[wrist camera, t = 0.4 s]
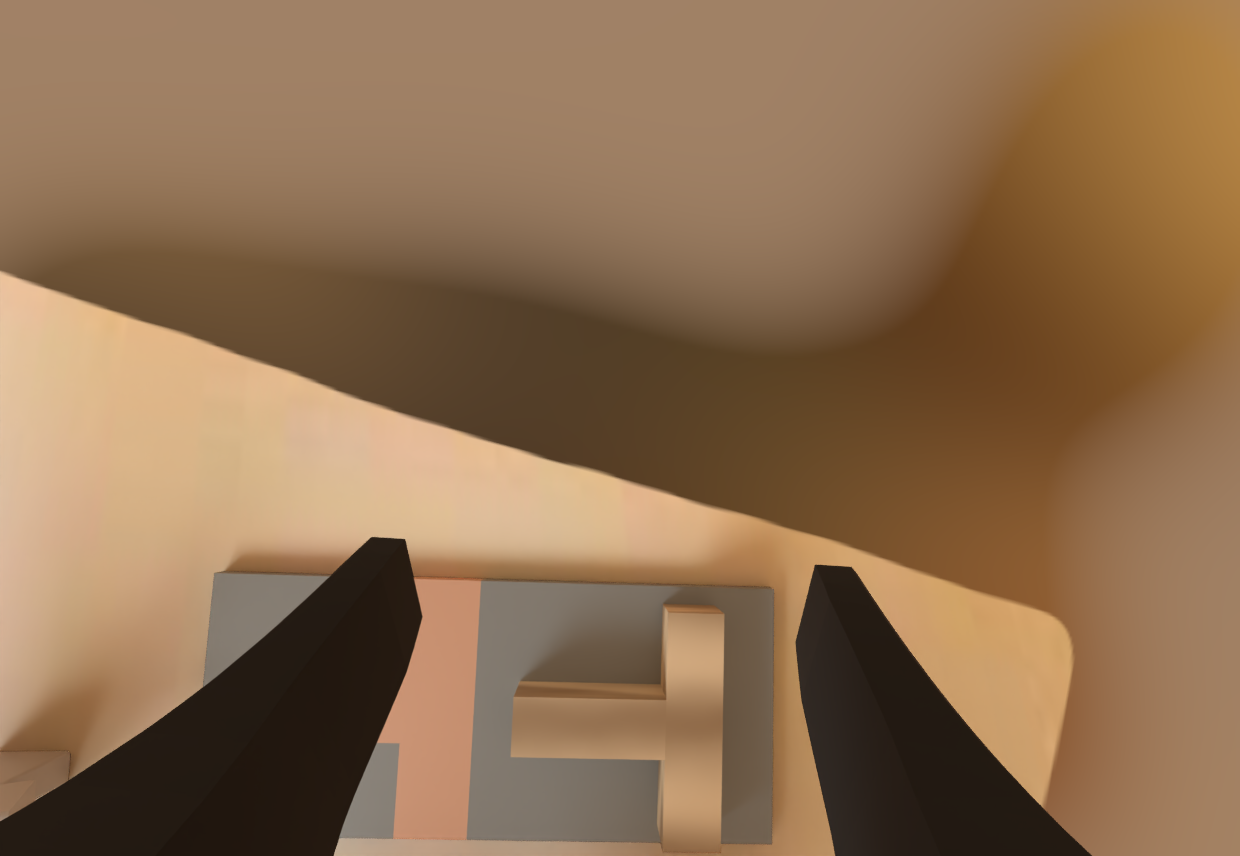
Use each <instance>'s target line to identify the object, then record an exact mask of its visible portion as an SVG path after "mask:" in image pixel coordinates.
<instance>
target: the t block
mask: <svg viewBox="0 0 1240 856" xmlns="http://www.w3.org/2000/svg"><path fill="white" fill-rule="evenodd" d="M723 675H724V613H723V612H721V611H720V610H719V609H718V608H717V607H716V606H714V605H687V604H663V611H662V650H661V684H622V683H579V682H537V681H520V682H519V685H518V687H517V689H516V692H515V694H514V698H513V718H512V738H511V757H527V758H579V759H630V760H659V765H658V804H657V826H658V831H659V836H660V841H661V846H662V852H684V853H721V801H722V738H723Z"/></svg>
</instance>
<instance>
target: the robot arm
mask: <svg viewBox="0 0 1240 856" xmlns="http://www.w3.org/2000/svg"><path fill="white" fill-rule="evenodd" d="M422 617H423V616H422V612H421V607H420V603H419V598H418V594H417V590H416V585H415V581H414V576H413V572H412V568H411V563H410V559H409V554H408V550H407V545H406V541H405V539H394V538H378V537H371V538H370V539H369V540H368V541H367V542H366V543H365V544H363V545H362V546H361V547H360V548H359V549H358V550H357V551H356V552H355V553H354V554H353V555H352V556H351V557H350V558H349V559H347V560H346V561H345V562H344V563H343V564H342V565H341V566H340V567H339V568H338V569H337V570H336V571H335V572H334V573H333V574H332V575H331V576H330V577H329V578H328V579H326V580H325V581H324V582H323V583H322V584H321V585H320V586H319V587H318V588H317V589H316V590H315V591H314V592H313V593H312V594H311V595H310V596H308V597H307V598H306V599H305V600H304V601H303V602H302V603H301V604H300V605H299V606H298V607H296V608H295V609H294V610H293V611H292V612H291V613H290V614H289V615H288V616H287V617H285V618H284V619H283V620H282V621H281V622H280V623H279V624H278V625H277V626H276V627H274V628H273V629H272V630H271V631H270V632H269V633H268V634H267V635H265V636H264V637H263V638H262V639H261V640H260V641H258V642H257V643H256V644H255V645H254V646H252V647H251V648H250V649H249V650H248V651H247V652H245V653H244V654H243V655H242V656H241V657H239V658H238V659H237V660H236V661H235V662H233V663H232V664H231V665H230V666H229V667H228V668H226V669H225V670H224V671H223V672H222V673H220V674H219V675H218V676H217V677H215V678H214V679H213V680H212V681H210V682H209V683H208V684H206V685H205V686H204V687H203V688H201V689H200V690H199V691H198V692H196V693H195V694H194V695H192V696H191V697H190V698H188V699H187V700H186V701H184V702H183V703H182V704H180V705H179V706H178V707H176V708H175V709H173V710H172V711H171V712H169V713H168V714H167V715H165V716H164V717H163V718H161V719H160V720H158V721H157V722H156V723H154V724H153V725H151V726H150V727H149V728H147V729H146V730H144V731H143V732H141V733H140V734H138V735H137V736H135V737H134V738H132V739H131V740H129V741H128V742H126V743H125V744H123V745H122V746H120V747H119V748H117V749H116V750H114V751H113V752H111V753H110V754H108V755H107V756H105V757H104V758H102V759H101V760H99V761H98V762H96V763H95V764H93V765H91V766H90V767H88V768H87V769H85V770H84V771H82V772H81V773H79V774H78V775H76V776H75V777H73V778H72V779H70V780H68V781H67V782H65V783H64V784H62V785H60V786H59V787H57V788H55V789H54V790H52V791H50V792H49V793H47V794H46V795H44V796H42V797H41V798H39V799H37V800H36V801H34V802H32V803H31V804H29V805H27V806H26V807H24V808H22V809H21V810H19V811H17V812H15V813H14V814H12V815H10V816H8V817H7V818H5V819H3V820H2V821H0V856H333V855H334V852H335V849H336V846H337V843H338V840H339V837H340V834H341V831H342V828H343V824H344V822H345V819H346V816H347V814H348V811H349V809H350V806H351V803H352V801H353V798H354V795H355V793H356V791H357V788H358V786H359V784H360V781H361V779H362V777H363V774H364V772H365V770H366V767H367V765H368V763H369V760H370V758H371V756H372V753H373V751H374V749H375V746H376V744H377V742H378V739H379V737H380V735H381V732H382V730H383V728H384V725H385V723H386V721H387V718H388V716H389V713H390V711H391V709H392V706H393V704H394V702H395V699H396V697H397V694H398V692H399V690H400V687H401V685H402V682H403V680H404V677H405V675H406V673H407V670H408V666H409V663H410V660H411V656H412V653H413V650H414V647H415V643H416V639H417V636H418V632H419V628H420V625H421V621H422ZM796 652H797V662H798V673H799V682H800V690H801V699H802V704H803V709H804V714H805V718H806V723H807V727H808V732H809V736H810V741H811V746H812V750H813V755H814V759H815V763H816V768H817V772H818V777H819V781H820V786H821V790H822V795H823V799H824V803H825V808H826V812H827V817H828V821H829V826H830V830H831V835H832V840H833V846H834V851H835V856H1092V855H1091V854H1090V853H1089V852H1087V851H1086V850H1085V849H1084V848H1083V847H1082V846H1081V845H1080V844H1079V843H1078V842H1077V841H1075V839H1074V838H1073V837H1072V836H1070V835H1069V834H1068V833H1067V832H1066V831H1065V830H1064V829H1063V828H1062V827H1061V826H1060V825H1059V824H1058V823H1057V822H1056V821H1055V820H1054V819H1053V818H1052V817H1051V816H1050V815H1049V814H1048V813H1047V812H1046V811H1045V810H1044V809H1043V808H1042V807H1041V805H1040V804H1039V803H1038V802H1037V801H1036V800H1035V799H1034V798H1033V797H1032V796H1031V795H1030V794H1029V793H1028V792H1027V791H1026V790H1025V789H1024V788H1023V787H1022V786H1021V785H1020V784H1019V782H1018V781H1017V780H1016V779H1015V778H1014V777H1013V776H1012V775H1011V774H1010V773H1009V772H1008V771H1007V770H1006V768H1005V767H1004V766H1003V765H1002V764H1001V763H1000V762H999V761H998V760H997V758H996V757H995V756H994V755H993V754H992V753H991V752H990V751H989V749H988V748H987V747H986V746H985V745H984V744H983V743H982V741H981V740H980V739H979V738H978V737H977V736H976V734H975V733H974V732H973V731H972V730H971V728H970V727H969V726H968V725H967V724H966V722H965V721H964V720H963V719H962V718H961V716H960V715H959V714H958V713H957V711H956V710H955V709H954V708H953V707H952V705H951V704H950V703H949V702H948V700H947V699H946V698H945V697H944V695H943V694H942V693H941V692H940V690H939V689H938V688H937V686H936V685H935V684H934V683H933V681H932V680H931V679H930V677H929V676H928V675H927V673H926V672H925V671H924V669H923V668H922V667H921V665H920V664H919V663H918V661H917V660H916V659H915V657H914V656H913V655H912V653H911V652H910V651H909V649H908V648H907V646H906V645H905V644H904V642H903V641H902V639H901V638H900V637H899V635H898V634H897V632H896V631H895V630H894V628H893V627H892V625H891V624H890V622H889V621H888V619H887V618H886V617H885V615H884V614H883V612H882V611H881V609H880V608H879V606H878V605H877V603H876V602H875V600H874V599H873V597H872V596H871V594H870V593H869V591H868V590H867V588H866V587H865V585H864V584H863V582H862V581H861V579H860V578H859V576H858V575H857V573H856V572H855V571H854V570H853V568H852V567H843V566H827V565H815V567H814V571H813V575H812V579H811V583H810V587H809V591H808V595H807V599H806V603H805V607H804V611H803V615H802V619H801V623H800V627H799V631H798V635H797V639H796Z"/></svg>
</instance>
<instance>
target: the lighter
mask: <svg viewBox="0 0 1240 856" xmlns="http://www.w3.org/2000/svg"><path fill="white" fill-rule="evenodd" d="M69 766H70V753H69V752H68V751H12V752H0V821H2V820H3V819H5V818H7V817H8V816H10V815H12V814H14V813H15V812H17V811H19V810H21V809H22V808H24V807H26V806H27V805H29V804H31V803H32V802H34V801H35V799H36V798H38V797H40V796H42V795H44V794H46V793H48V792H49V791H51V790H53V789H55V788H57V787H59V786H60V785H62V784H64V783H65V782H67V781H68V777H69Z"/></svg>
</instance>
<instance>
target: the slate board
mask: <svg viewBox="0 0 1240 856" xmlns="http://www.w3.org/2000/svg"><path fill="white" fill-rule="evenodd" d="M331 575H332V574H304V573H270V572H236V571H222V572H217V573H214V581H213V591H212V601H211V611H210V621H209V631H208V641H207V651H206V661H205V671H204V681H203V687H204V686H205V685H206V684H208V683H209V682H210V681H212V680H213V679H214V678H215V677H217V676H218V675H219V674H220V673H222V672H223V671H224V670H225V669H226V668H228V667H229V666H230V665H231V664H232V663H233V662H235V661H236V660H237V659H238V658H239V657H241V656H242V655H243V654H244V653H245V652H247V651H248V650H249V649H250V648H251V647H252V646H254V645H255V644H256V643H257V642H258V641H260V640H261V639H262V638H263V637H264V636H265V635H267V634H268V633H269V632H270V631H271V630H272V629H273V628H274V627H276V626H277V625H278V624H279V623H280V622H281V621H282V620H283V619H284V618H285V617H287V616H288V615H289V614H290V613H291V612H292V611H293V610H294V609H295V608H296V607H298V606H299V605H300V604H301V603H302V602H303V601H304V600H305V599H306V598H307V597H308V596H310V595H311V594H312V593H313V592H314V591H315V590H316V589H317V588H318V587H319V586H320V585H321V584H322V583H323V582H324V581H325V580H326V579H328V578H329V577H330V576H331ZM414 581H415V585H416V590H417V594H418V598H419V603H420V607H421V612H422V616H423V617H422V621H421V625H420V628H419V632H418V636H417V639H416V643H415V647H414V650H413V653H412V656H411V660H410V663H409V666H408V670H407V673H406V675H405V677H404V680H403V682H402V685H401V687H400V690H399V692H398V694H397V697H396V699H395V702H394V704H393V706H392V709H391V711H390V713H389V716H388V718H387V721H386V723H385V725H384V728H383V730H382V732H381V735H380V737H379V739H378V742H377V744H376V746H375V749H374V751H373V753H372V756H371V758H370V760H369V763H368V765H367V767H366V770H365V772H364V774H363V777H362V779H361V781H360V784H359V786H358V788H357V791H356V793H355V795H354V798H353V801H352V803H351V806H350V809H349V811H348V814H347V816H346V819H345V822H344V824H343V828H342V831H341V834H340V837H339V838H377V839H444V840H512V841H579V842H646V843H661V841H660V836H659V831H658V826H657V804H658V765H659V760H630V759H579V758H527V757H511V738H512V718H513V698H514V694H515V692H516V689H517V687H518V685H519V682H520V681H537V682H579V683H622V684H661V650H662V611H663V604H687V605H714V606H716V607H717V608H718V609H719V610H720V611H721V612H723V613H724V675H723V738H722V801H721V844H772V791H773V661H774V589H772V588H770V587H746V586H712V585H678V584H644V583H610V582H576V581H542V580H508V579H474V578H440V577H414Z"/></svg>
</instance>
